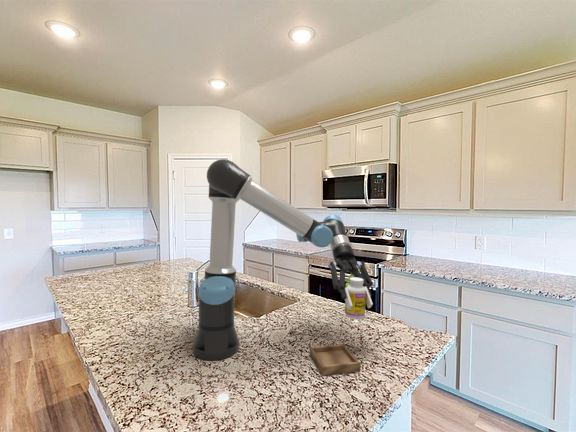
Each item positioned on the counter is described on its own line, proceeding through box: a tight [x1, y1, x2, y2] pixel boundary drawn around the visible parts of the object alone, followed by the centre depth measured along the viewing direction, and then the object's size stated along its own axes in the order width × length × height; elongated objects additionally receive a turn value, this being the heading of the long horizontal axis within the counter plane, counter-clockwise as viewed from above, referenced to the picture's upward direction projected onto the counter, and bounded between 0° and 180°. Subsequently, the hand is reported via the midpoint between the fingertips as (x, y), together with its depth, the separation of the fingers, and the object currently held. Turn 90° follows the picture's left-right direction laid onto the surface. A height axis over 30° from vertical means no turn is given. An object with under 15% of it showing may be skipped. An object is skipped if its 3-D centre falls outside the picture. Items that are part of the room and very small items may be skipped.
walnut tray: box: [309, 343, 361, 377], centre depth 93 cm, size 12×12×2 cm
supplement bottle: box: [344, 277, 366, 320], centre depth 101 cm, size 7×7×13 cm
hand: (360, 306), depth 98 cm, fingers closed on supplement bottle, 7 cm apart
